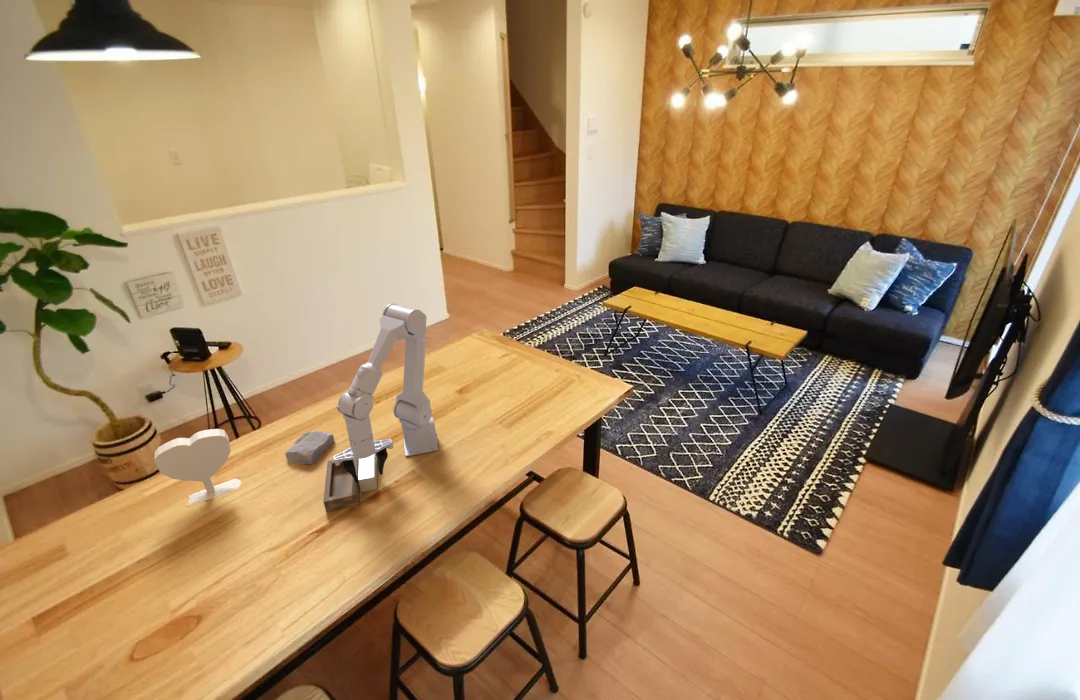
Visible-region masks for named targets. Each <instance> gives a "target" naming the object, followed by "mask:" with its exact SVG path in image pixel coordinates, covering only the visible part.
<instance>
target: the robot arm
mask: <svg viewBox="0 0 1080 700" xmlns="http://www.w3.org/2000/svg"><path fill="white" fill-rule="evenodd" d="M379 324H380V329H379V332H378V335H377V336H376V337H377V338H376V341H375V343H374V345H373V348H372V350H371V353H370V356H369V358H368V361H367V362H366V363H363V364H361V365H360V366H359V368H358V369H357V371H356V374H355V376H354V377H353V380H352V382H351V384H350V385H349V388H348V390H347V392H344V393H343V394H342V395H341V396H340V398H339V399H338V402H337V406H336V410H337V412H338V413H340V414H342V417H343V419H344V421H345V426H346V431H347V436H348V441H349V445H350V447H349V448H346V449H345V450H344V451H342V452H340V453H337V454H335V455H333V456H332V458H333V460H334V462H335V465H336V466H338V465H340V463H342V462H343V465H344V468H345V470H346V471H348V472H349V473H350V474H351V475H352V477H353V478H354V480H355V482H357V483H358V478H357V475H356V470H355V465H354V462H353V460H355V459H364V458H368V457H370V456H372V455H373V454H375V455H376V459H377V471H378V473H379V475H380V476H382V475H383V474H384V466H385V463H386V461H387V459H388V458H389V457H388V456H389V454H388V450H387V449H389V450H391V449H394V444H393V441H392V438H388V439H382V440H381V439H379V440H374V435H373V429H372V422H371V417H370V413H371V411H373V407H374V403H373V400H374V394H375V391H376V389H377V387H378V385H379V383H380V382H381V378H383V377H382V376H383V373H382V368H381V367H382V366H383V364H384V362H385V360H386V359H387V358H388V357H389V354H390V352H391V350H392V348H393V347H394V345H395V344H396V342H397V341H401V340H404V339H405V343H404V365H403V382H402V383H403V384H402V385H403V387H402V391H401V392H400V393H398V394H396V399H395V403H394V405H393V410H392V411H393V412H392V413H393V416H394V417H395V418H397V419H398V420H399V423H400V425H401V429H402V435H403V446H404V456H405V457H411V456H416V455H421V454H427V453H432V452H437V451H439V444H438V439H439V437H438V432H437V431H436V423H435V420H434V417H433V416H432V415H433V414H432V408H431V399H430V398H429V397H428V395H426V393H425V392H424V379H425V365H426V364H425V360H426V348H427V347H426V345H427V344H426V343H427V315H426V314H425V313H424V312H423V311H422V310H420V309H417V308H411V307H407V306H405V305H399V304H397V303H388V304H387V305H386V306H385V307H384V309H383V312H382V314H381V316H380V318H379Z"/></svg>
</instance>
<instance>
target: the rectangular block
mask: <svg viewBox="0 0 1080 700" xmlns="http://www.w3.org/2000/svg"><path fill="white" fill-rule="evenodd" d="M377 471H378V465H377V458H376V453H375V454H373V455H372V456H370V457H368V458H364V459H359V471H358V481H359V485H360V493H365V492H370V491H374V490H378V472H377Z"/></svg>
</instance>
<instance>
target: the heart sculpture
mask: <svg viewBox="0 0 1080 700" xmlns="http://www.w3.org/2000/svg"><path fill="white" fill-rule="evenodd" d="M231 450H232V449H231V444H230V438H229V435H228V434H227V432H226V431H225V429H221V428H211V429H203V430H200V431H197V432H195V433H194V434H193V435H191V436H190V437H176V438H173V439H171V440H169V441H167V442H165V443H163V444H162V445H160V446H159V447H157V449H155V451H154V464H155V467H156V469H157V470H158V471H159V472H160V473H161V474H162V475H164V476H166V477H168V478H171V479H172V480H179V481H185V482H202V484H203V486H204V489H205V490H204V489H201V490H199V491H200V492H199V491H196V492H197V493H196V492H194V494H193V493H191V494H192V495H190V494H189V495H190V496H189V498H190V500H188V502H189V505H192V504H195V503H198V502H200V503H199V504H201V503H203V501H204V502H206V501H205V500H207V501H209V500H211V499H210V498H212V499H214V498H213V497H215V498H217V497H216V496H218V497H221V496H222V495H226V494H228V493H231V492H233V491H237V490H239V488H240V486H241V484H242V481H241V480H240V479H238V478H233V479H230V480H227V481H225V482H221V483H219V484H216V485H215V484H214V482H213V480H212V477H213V476H214V475H215V474H216V473H217V472H218V471H219V470H221V468H222V467H223V466H224V465H225V464H226V463H227V461H228V459H229V457H230V454H231ZM208 499H209V500H208Z"/></svg>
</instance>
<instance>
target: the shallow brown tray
mask: <svg viewBox="0 0 1080 700" xmlns="http://www.w3.org/2000/svg"><path fill="white" fill-rule="evenodd" d="M353 462H354V465H355V470H356V475H357V478H358V471H359V459H355V460H353ZM326 464H327V465H326V473H325V474H326V475H325V483H324V484H325V485H324V492H323V493H324V494H323V506H324V508H325V513H329V512H334V511H339V510H343V509H347V508H351V507H356V506H360V503H361V501H360V499H361V495H360V494H361V489H360V485H359V481H358V483H357V482H355V480H354V478H353V477H352V475H351V474H350V473H349V472H348V471H346V470H345V468H344V465H343V462H342V463H340V465H338V466H336V465H335V462H334V459H331V460H327V463H326Z"/></svg>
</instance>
